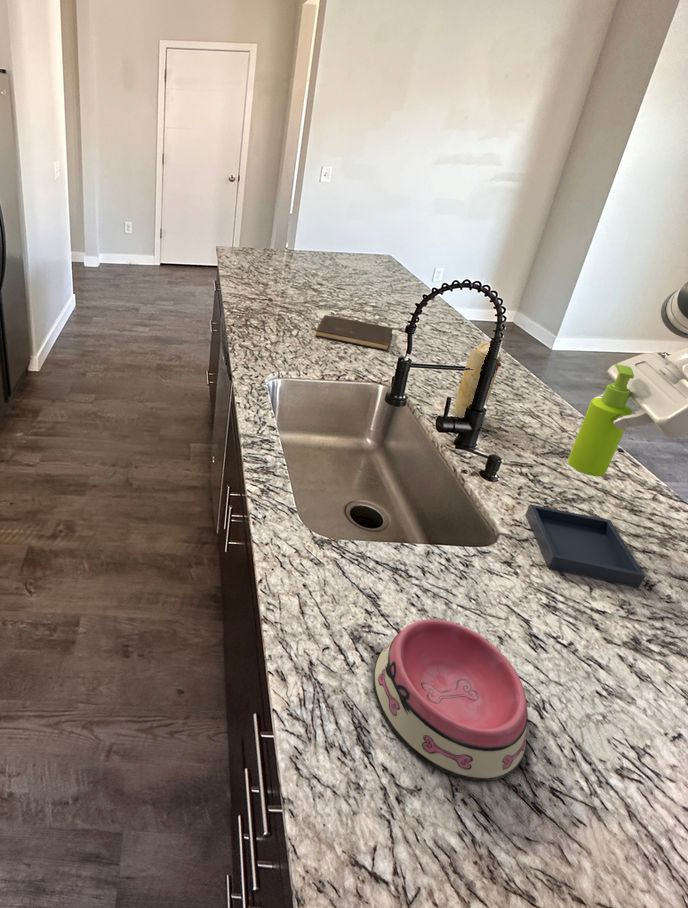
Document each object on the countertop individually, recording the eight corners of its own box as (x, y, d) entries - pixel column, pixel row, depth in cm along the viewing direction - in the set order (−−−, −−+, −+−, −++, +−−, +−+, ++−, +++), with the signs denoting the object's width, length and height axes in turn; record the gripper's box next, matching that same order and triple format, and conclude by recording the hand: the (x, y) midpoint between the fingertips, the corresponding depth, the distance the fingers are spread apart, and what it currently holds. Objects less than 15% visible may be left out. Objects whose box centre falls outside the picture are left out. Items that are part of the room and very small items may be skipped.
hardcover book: (387, 351, 170) (388, 344, 169) (314, 336, 179) (315, 330, 178) (391, 333, 184) (393, 327, 183) (324, 320, 192) (325, 314, 191)
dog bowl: (352, 641, 79) (361, 609, 76) (472, 636, 81) (485, 605, 78) (410, 787, 63) (424, 754, 60) (559, 778, 64) (580, 745, 61)
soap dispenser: (602, 461, 102) (643, 366, 94) (607, 480, 96) (651, 381, 88) (565, 451, 105) (602, 358, 97) (568, 469, 99) (607, 372, 91)
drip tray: (604, 531, 102) (610, 519, 101) (638, 588, 90) (645, 576, 89) (525, 515, 105) (529, 504, 104) (548, 568, 93) (553, 556, 92)
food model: (484, 430, 132) (509, 357, 123) (454, 424, 133) (477, 352, 125) (477, 410, 140) (500, 340, 131) (449, 405, 142) (470, 336, 133)
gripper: (653, 336, 98) (573, 374, 104) (722, 389, 80) (621, 432, 86) (671, 361, 99) (591, 398, 105) (743, 420, 81) (641, 460, 87)
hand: (605, 414), depth 96 cm, fingers closed on soap dispenser, 6 cm apart
